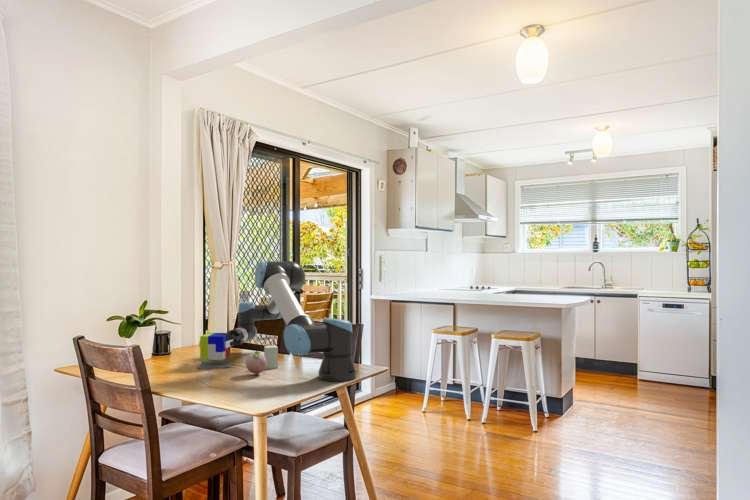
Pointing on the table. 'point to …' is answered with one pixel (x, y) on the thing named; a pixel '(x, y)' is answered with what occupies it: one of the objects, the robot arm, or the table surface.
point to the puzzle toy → (214, 346)
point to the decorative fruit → (256, 362)
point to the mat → (214, 364)
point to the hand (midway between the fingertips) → (212, 344)
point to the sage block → (271, 356)
